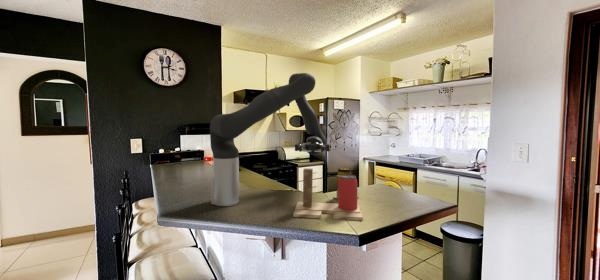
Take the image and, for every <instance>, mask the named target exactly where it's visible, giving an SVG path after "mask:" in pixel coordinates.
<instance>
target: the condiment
mask: <svg viewBox="0 0 600 280" xmlns="http://www.w3.org/2000/svg"><path fill="white" fill-rule="evenodd" d="M341 175H352V169H351V168H350V167H349V168H348V167H340V168H337V175H336V196H335V195H334V196H333V198H334V199H338V181H339V178H340V176H341ZM358 198H359V196H357V199H358Z"/></svg>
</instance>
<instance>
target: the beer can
mask: <svg viewBox="0 0 600 280" xmlns="http://www.w3.org/2000/svg"><path fill="white" fill-rule="evenodd" d="M357 197H358V179H357V176H356V175H353V174H351V175H341V176H340V178H339V181H338V200H337V201H338V202H337V204H338V208H339V209H342V210H347V211H353V210H356V209H357V205H358V198H357Z"/></svg>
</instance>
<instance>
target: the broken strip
mask: <svg viewBox="0 0 600 280" xmlns="http://www.w3.org/2000/svg"><path fill="white" fill-rule="evenodd" d="M322 214H323V213H322V211H310V210H295V209H294V210H293V213H292V217H294V218H306V219H307V218H310V219H313V218H314V219H322ZM362 214H363V213H362V212H361V213H351V212H334V214H333V220H346V221H347V220H348V221H363V220H364V217H363V215H362Z"/></svg>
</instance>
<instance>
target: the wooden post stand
mask: <svg viewBox="0 0 600 280" xmlns="http://www.w3.org/2000/svg"><path fill="white" fill-rule="evenodd" d="M302 172H303V175H302V178H303V180H302V183H303V184H302V185H303V186H302V201H297V204H296V205H295V208H294V210H310V211H322V214H333V215H334V212H351V213H362V211H361V208H360V206H359V204H357V209H356V210H353V211H347V210H342V209H339V208H338V203H332V202H331V203H329V202H313V178H314V177H313V176H314V175H313V174H314V173H313V172H314V170H313V168H305V167H304V168H303V171H302Z"/></svg>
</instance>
